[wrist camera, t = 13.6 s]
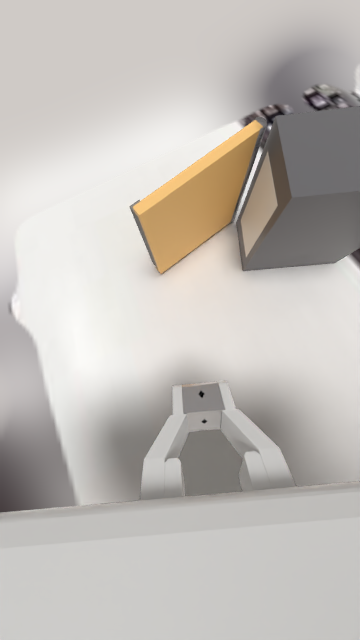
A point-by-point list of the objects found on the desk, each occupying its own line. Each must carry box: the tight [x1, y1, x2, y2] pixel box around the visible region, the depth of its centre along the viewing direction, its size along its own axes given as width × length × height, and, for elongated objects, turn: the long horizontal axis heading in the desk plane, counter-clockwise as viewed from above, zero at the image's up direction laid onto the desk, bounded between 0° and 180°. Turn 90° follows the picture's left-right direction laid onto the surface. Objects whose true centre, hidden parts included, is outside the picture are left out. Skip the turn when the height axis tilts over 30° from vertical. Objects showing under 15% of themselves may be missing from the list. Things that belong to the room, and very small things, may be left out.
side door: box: [130, 117, 267, 274], centre depth 17 cm, size 11×2×9 cm, turn 128°
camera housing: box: [237, 106, 360, 271], centre depth 16 cm, size 7×10×11 cm
